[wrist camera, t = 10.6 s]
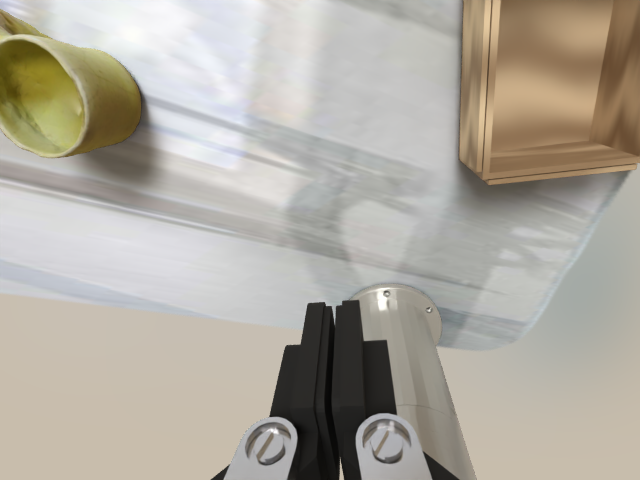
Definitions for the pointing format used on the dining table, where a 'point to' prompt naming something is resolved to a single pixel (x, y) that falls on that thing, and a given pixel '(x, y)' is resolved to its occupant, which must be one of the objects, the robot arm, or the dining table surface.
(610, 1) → the wooden box
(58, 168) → the dining table surface
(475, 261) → the dining table surface
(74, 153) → the mug
